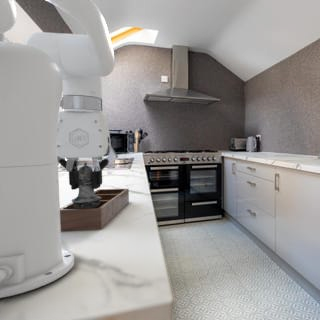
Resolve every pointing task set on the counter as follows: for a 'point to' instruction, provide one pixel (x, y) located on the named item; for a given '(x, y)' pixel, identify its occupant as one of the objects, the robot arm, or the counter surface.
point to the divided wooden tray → (94, 211)
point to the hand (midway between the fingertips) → (86, 187)
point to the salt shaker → (86, 190)
